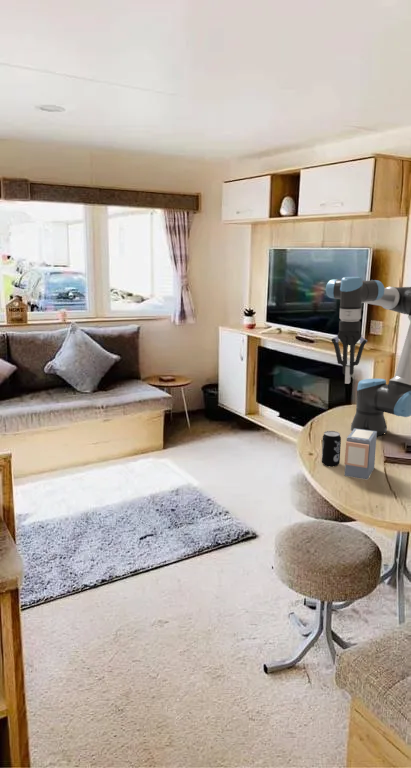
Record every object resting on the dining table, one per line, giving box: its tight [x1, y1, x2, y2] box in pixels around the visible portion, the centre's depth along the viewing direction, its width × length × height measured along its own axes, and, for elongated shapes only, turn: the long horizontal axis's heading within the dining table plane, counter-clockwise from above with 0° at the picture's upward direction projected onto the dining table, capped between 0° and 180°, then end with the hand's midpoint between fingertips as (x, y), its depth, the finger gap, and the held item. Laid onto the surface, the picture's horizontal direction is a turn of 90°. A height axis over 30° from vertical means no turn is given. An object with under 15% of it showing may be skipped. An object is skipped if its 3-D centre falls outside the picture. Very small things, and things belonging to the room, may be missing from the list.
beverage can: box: [321, 430, 342, 468], centre depth 206 cm, size 7×7×12 cm
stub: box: [344, 440, 369, 468], centre depth 191 cm, size 8×8×1 cm
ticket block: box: [344, 428, 377, 481], centre depth 198 cm, size 12×8×14 cm, turn 153°
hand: (347, 382), depth 209 cm, fingers closed
